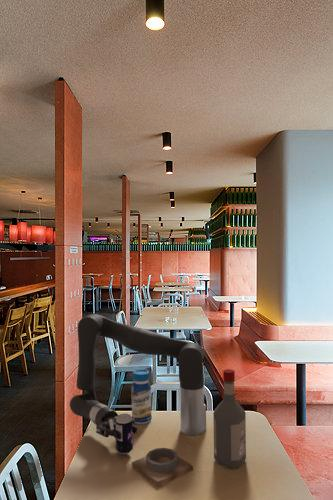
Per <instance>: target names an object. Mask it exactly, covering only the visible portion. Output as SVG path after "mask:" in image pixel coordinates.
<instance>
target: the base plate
mask: <svg viewBox="0 0 333 500" xmlns="http://www.w3.org/2000/svg"><path fill="white" fill-rule="evenodd" d="M171 460H172V459H170V458H167V457H157V458H155V459H153V460H152V461H154V462H157V463H167V462H169V461H171ZM131 467H132V468H133V469H134V470H136V471H137V472H138V473H140V474H141V475H142V476H143V477H145V478H146V479H147V480H148V481H150V483H152V484H154V486H156V487H158V488H160V487H162V486H163V485H165V484H167V483H169V482H171V481H173V480H175V479H177V478H179V477H181V476H183V475H186V474H187V473H189V472H191V471H193V470H194V465H193V464H192V463H190V462H188V461H187V460H186V459H184V458H182V457H181V456H179V455H178V465H177V467H176V469H174V470H172V471H170V472H165V473H158V472H153V471H151V470H150V469H148V468H147V464H146V455H145V456H143V457H141V458H139V459H136V460H134V461H131Z"/></svg>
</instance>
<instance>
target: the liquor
mask: <svg viewBox="0 0 333 500" xmlns="http://www.w3.org/2000/svg"><path fill="white" fill-rule="evenodd" d="M222 375H223V396H222V400H221V402H219V403H218V405H217V406H216V407H215V409H214V410H213V458H214V461H215V463H216V464H217V465H218V466H222V467H224V468H227V469H229V470H234V469H239V468H240V467H241V466H242V465H243V464H244V463H245V461H246V459H247V434H246V433H247V430H246V429H247V428H246V426H247V425H246V424H247V423H246V422H247V421H246V420H247V419H246V412H245V411H246V410H245V408H244V407H243V406H241V404H240V403H239V402H238V401H237V400H236V396H235V381H236V379H235V370H234V369H230V368H229V369H223V374H222Z"/></svg>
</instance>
